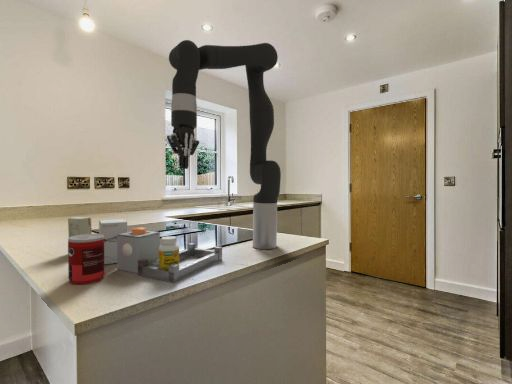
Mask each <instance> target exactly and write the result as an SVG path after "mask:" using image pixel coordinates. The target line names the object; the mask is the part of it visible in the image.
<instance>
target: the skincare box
mask: <svg viewBox="0 0 512 384" xmlns="http://www.w3.org/2000/svg"><path fill="white" fill-rule="evenodd" d="M67 229H68V230H67V231H68V238H69V237H71V236H75V235H82V234H93V233H92V217H87V216H74V217H67Z"/></svg>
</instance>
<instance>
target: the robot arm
mask: <svg viewBox="0 0 512 384" xmlns="http://www.w3.org/2000/svg"><path fill="white" fill-rule="evenodd" d="M278 59H279V56H278V51H277V50H276V48H275V47H274V45H272V44H271V43H268V42H262V43H256V44H250V45H247V44H246V45H217V44H205V45H201V46H199V47H198V46H197V44H196V43H195V42H194V41H192V40H189V39H184V40H182V41H180V42H178V44H177V45H175V46H174V47H173V48H172V49H171V50H170V52H169V55H168V62H169V64H170V66H171V67H172V68H173V69H175V70H176V73H175V75H174V77H172V84H171V85H172V87H171V89H172V90H171V92H172V93H171V109H170V112H171V114H170V121H171V123H170V125H171V127H173V129H172V134H170V135H167V136H166V140H167V141H168V144H169V145H170V147H171V150H172V151H173V153H174V155H175V154H177V156H178V167H179V169H180V170H189V165H190V164H189V163H190V162H189V160H190V158H189V157H190V156H193V155H194V154H195V152H196V150H197V148H198V147H199V144H200V141H199V140H198V139H197V140H196V138H195V137H196V136H195V129H196V128H197V126H198V122H197V120H198V117H197V116H198V115H197V114H198V112H197V108H198V107H197V106H198V104H197V80H198V76H199V71H201V70H224V69H225V70H226V69H232V68H237V67H243V66H245V72H246V73H245V74H246V79H247V87H248V102H249V103H248V105H249V110H248V111H249V125H250V126H249V128H250V155H249V156H250V157H249V158H250V160H249V175H250V180H251V181H252V182H253V183H254V184H256V185H260V190H259V191H258V192H257V193H255V194H254V195H253V197H252V198H253V207H252V210H253V211H252V216H253V217H252V247H253V248H254V249H260V250H272V249H277V235H278V233H277V232H278V230H277V229H278V227H277V226H278V198H279V196H280V190H281V176H282V175H281V173H282V172H281V167H280V165H279V163H278V162H276V161H275V160H269V159H267V148H268V147H267V146H268V144H269V141H270V138H271V136H272V134H273V130H274V127H275V114H274V113H275V112H274V105H273V103H272V101H271V99H270V97H269V96H268V93H267V92H266V89H265V85H264V84H265V83H264V82H265V81H264V73H266V72H268V71H270V70H272V69H273V68H275V66H276V65H277V63H278Z"/></svg>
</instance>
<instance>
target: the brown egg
mask: <svg viewBox="0 0 512 384" xmlns="http://www.w3.org/2000/svg"><path fill="white" fill-rule="evenodd" d="M146 231H147V228H146V227H133V228H131V231H130V232H131V234H132V235H142V234H146Z"/></svg>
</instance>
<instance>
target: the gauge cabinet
mask: <svg viewBox="0 0 512 384" xmlns="http://www.w3.org/2000/svg"><path fill="white" fill-rule="evenodd" d="M160 238H161V234H160V232H159V231H153V230H146V234H142V235H132V234H131V231H127V232H126V233H121V234H117V262H118V263H117V270H121V271H126V272H129V273H130V272H131V273H135V274H138V260H140V259H148V262H151V261H154V260H157V259H159V247H160V246H161V244H160V242H161V239H160Z"/></svg>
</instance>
